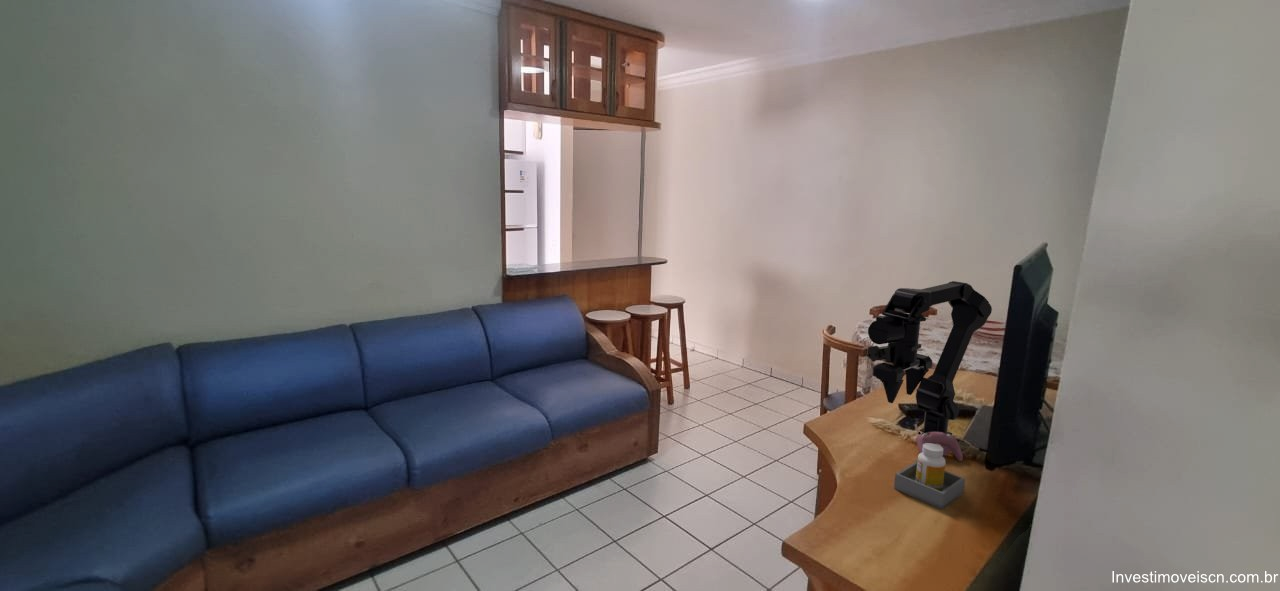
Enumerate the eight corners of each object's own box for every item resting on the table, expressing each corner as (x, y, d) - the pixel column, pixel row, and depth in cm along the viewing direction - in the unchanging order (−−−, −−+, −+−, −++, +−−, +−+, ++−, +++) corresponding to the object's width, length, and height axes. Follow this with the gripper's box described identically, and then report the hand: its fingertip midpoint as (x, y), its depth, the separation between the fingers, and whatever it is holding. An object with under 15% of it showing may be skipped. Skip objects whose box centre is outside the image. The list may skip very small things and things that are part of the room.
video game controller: (956, 461, 136) (953, 432, 137) (965, 461, 131) (961, 432, 133) (915, 459, 136) (912, 431, 138) (923, 460, 132) (920, 430, 134)
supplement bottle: (947, 489, 119) (952, 448, 117) (933, 497, 116) (938, 455, 114) (923, 478, 123) (927, 439, 121) (909, 485, 120) (914, 445, 118)
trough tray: (916, 474, 126) (918, 460, 126) (963, 493, 118) (965, 478, 118) (893, 488, 120) (895, 473, 120) (941, 509, 112) (943, 494, 112)
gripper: (893, 327, 147) (888, 382, 150) (855, 338, 136) (850, 397, 139) (936, 336, 138) (929, 394, 141) (898, 348, 127) (892, 411, 130)
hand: (899, 398), depth 138 cm, fingers open, 9 cm apart
